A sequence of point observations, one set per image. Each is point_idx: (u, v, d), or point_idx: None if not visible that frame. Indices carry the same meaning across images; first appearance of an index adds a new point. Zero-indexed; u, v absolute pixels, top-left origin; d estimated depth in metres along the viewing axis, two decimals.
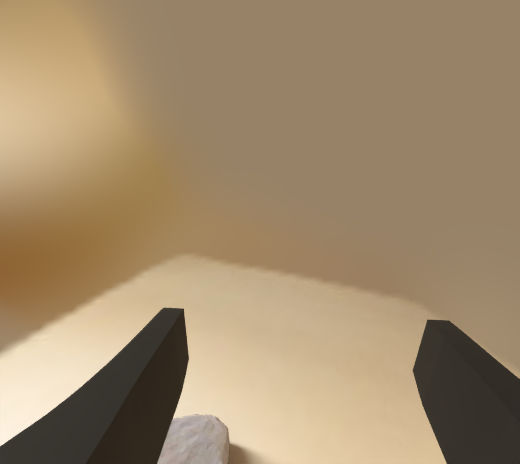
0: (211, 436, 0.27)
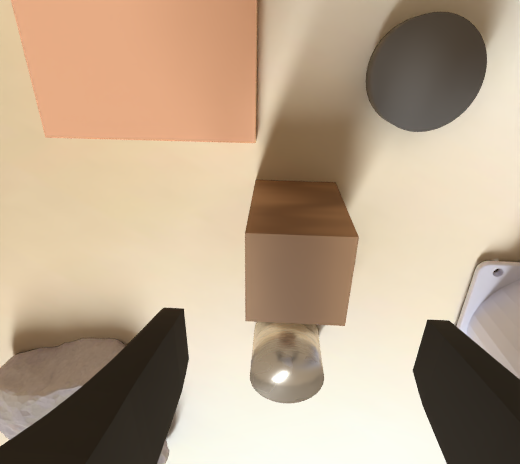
0: (12, 412, 0.21)
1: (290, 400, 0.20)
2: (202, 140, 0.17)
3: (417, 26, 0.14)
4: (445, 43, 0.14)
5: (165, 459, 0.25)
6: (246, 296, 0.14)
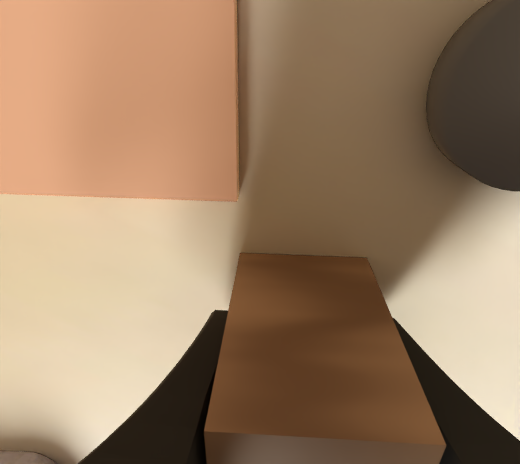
0: None
1: None
2: (149, 196, 0.10)
3: None
4: None
5: None
6: None
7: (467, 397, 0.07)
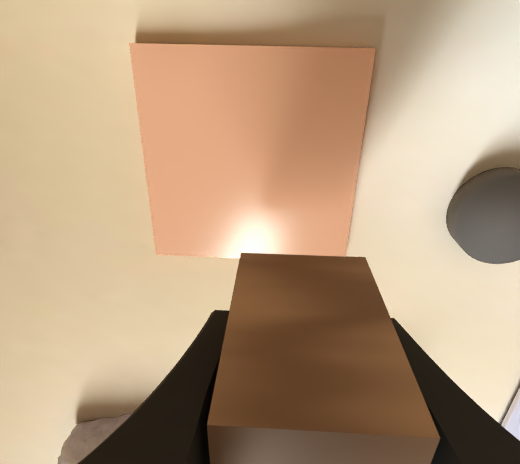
0: None
1: None
2: None
3: (488, 191, 0.16)
4: (517, 197, 0.16)
5: None
6: None
7: (467, 397, 0.07)
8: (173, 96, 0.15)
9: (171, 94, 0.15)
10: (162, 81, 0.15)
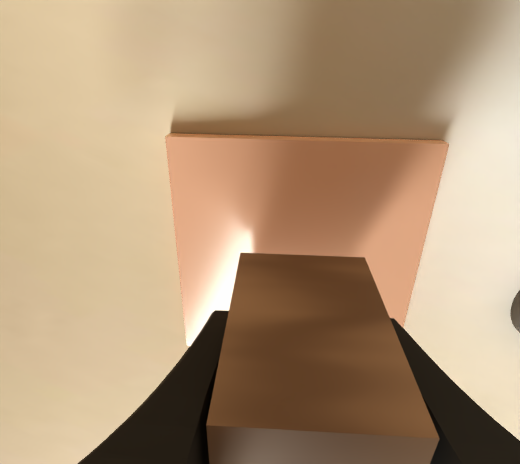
0: None
1: None
2: None
3: None
4: None
5: None
6: None
7: (467, 397, 0.07)
8: (213, 191, 0.14)
9: (211, 189, 0.14)
10: (201, 175, 0.13)
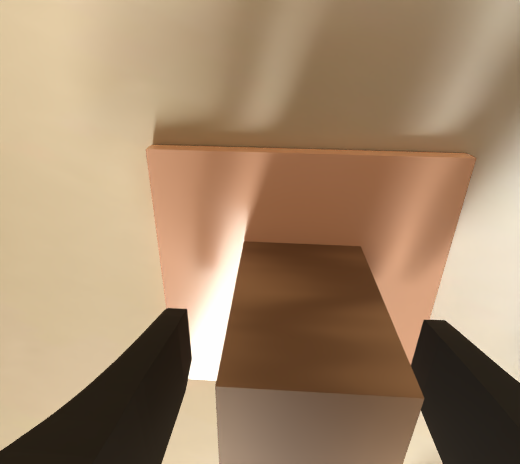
0: None
1: None
2: None
3: None
4: None
5: None
6: None
7: None
8: (202, 210, 0.12)
9: (200, 208, 0.12)
10: (188, 193, 0.12)
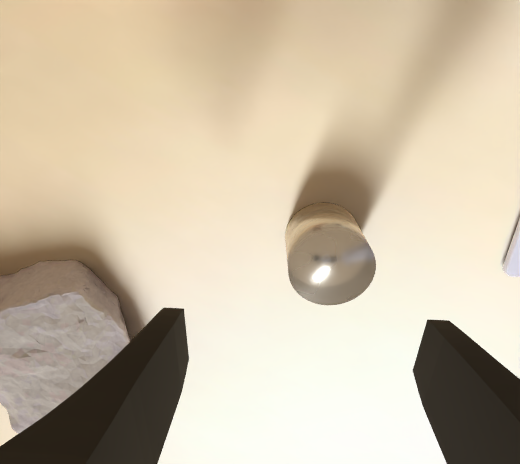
0: None
1: (340, 299, 0.17)
2: None
3: None
4: None
5: None
6: None
7: None
8: None
9: None
10: None
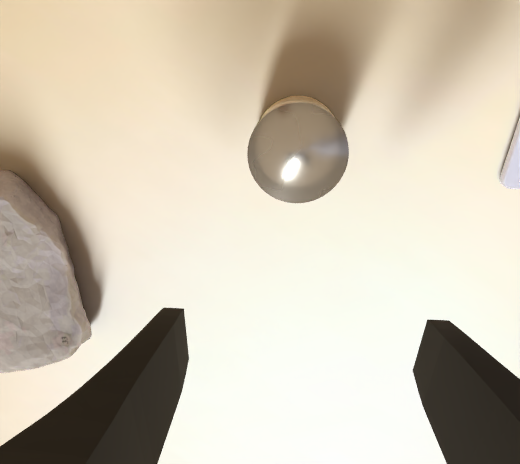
0: None
1: (313, 194, 0.15)
2: None
3: None
4: None
5: (81, 329, 0.20)
6: None
7: None
8: None
9: None
10: None
